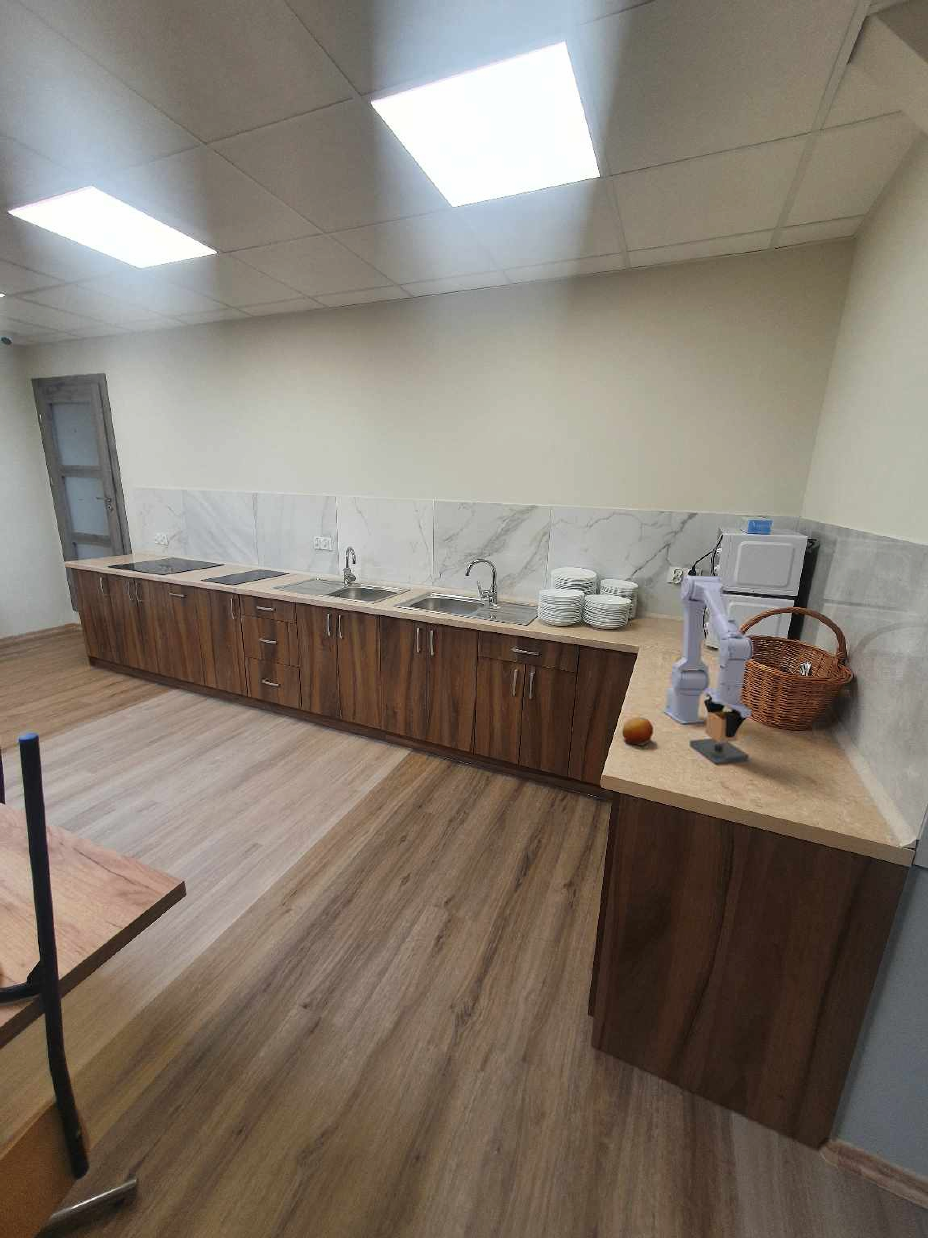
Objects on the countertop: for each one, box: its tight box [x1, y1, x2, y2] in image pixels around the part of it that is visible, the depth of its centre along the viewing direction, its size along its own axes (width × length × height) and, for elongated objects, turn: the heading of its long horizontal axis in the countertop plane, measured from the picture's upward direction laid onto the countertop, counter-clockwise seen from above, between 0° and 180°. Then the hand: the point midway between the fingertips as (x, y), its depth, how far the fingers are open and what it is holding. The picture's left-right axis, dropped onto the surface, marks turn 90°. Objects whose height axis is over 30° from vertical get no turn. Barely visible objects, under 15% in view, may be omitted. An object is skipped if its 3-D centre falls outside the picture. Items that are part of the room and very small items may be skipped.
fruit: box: [621, 716, 654, 747], centre depth 140 cm, size 8×8×8 cm
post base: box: [689, 738, 750, 765], centre depth 135 cm, size 10×10×6 cm
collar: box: [704, 710, 740, 743], centre depth 134 cm, size 5×5×6 cm
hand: (721, 731), depth 134 cm, fingers closed on collar, 5 cm apart
